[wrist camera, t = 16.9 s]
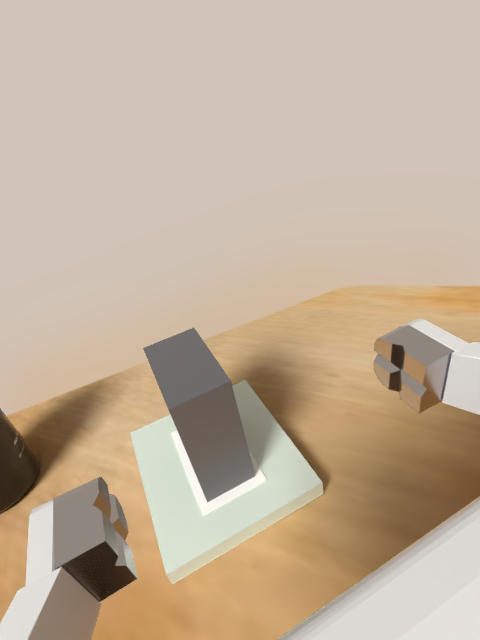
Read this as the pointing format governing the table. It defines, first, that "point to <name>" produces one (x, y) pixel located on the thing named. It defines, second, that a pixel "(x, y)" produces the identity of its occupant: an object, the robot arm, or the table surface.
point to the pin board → (229, 508)
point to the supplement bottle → (14, 464)
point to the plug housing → (202, 411)
